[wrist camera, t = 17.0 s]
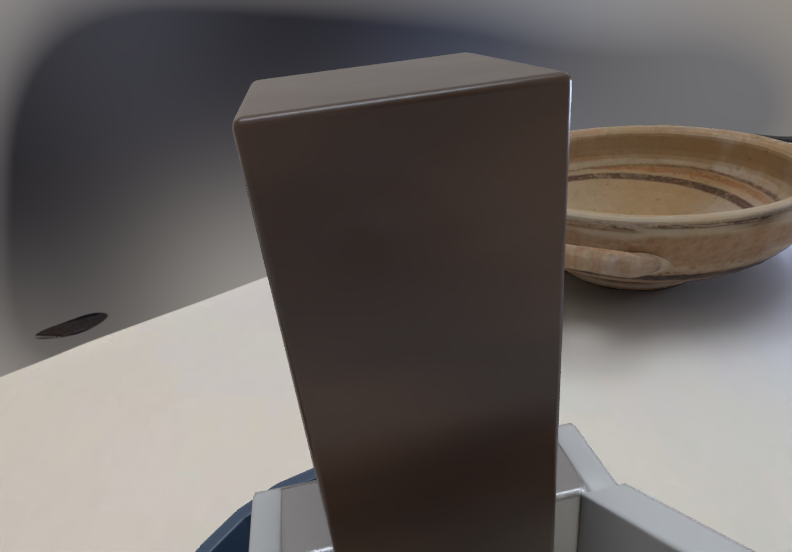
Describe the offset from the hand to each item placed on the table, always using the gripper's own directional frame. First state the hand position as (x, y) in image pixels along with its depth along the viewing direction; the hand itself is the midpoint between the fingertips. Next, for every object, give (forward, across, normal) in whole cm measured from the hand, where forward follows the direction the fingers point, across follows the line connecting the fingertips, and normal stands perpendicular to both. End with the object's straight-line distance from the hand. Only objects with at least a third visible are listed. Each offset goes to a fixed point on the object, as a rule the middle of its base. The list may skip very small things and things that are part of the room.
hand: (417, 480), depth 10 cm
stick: (-1, 0, +8) cm, 9 cm away
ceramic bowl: (+36, -28, +17) cm, 49 cm away
